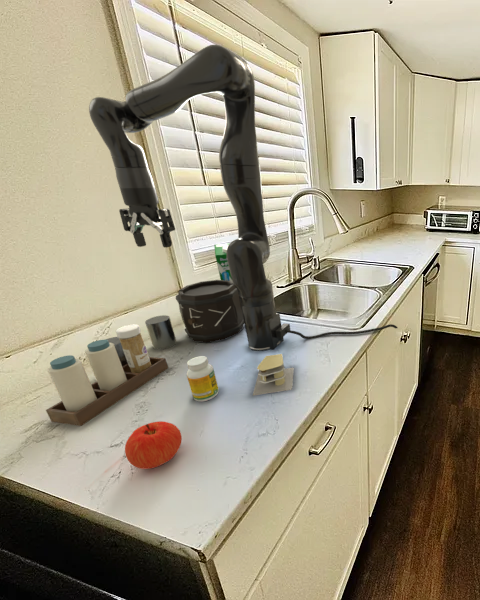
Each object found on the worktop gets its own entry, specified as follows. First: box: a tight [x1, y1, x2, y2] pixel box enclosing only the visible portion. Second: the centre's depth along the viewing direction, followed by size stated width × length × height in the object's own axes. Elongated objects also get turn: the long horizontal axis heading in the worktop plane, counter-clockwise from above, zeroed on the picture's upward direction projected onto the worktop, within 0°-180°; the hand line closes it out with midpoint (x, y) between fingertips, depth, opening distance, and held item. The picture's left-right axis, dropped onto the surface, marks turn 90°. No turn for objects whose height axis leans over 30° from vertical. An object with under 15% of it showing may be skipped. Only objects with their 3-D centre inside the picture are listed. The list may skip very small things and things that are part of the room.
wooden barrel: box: [175, 279, 245, 344], centre depth 106 cm, size 18×18×16 cm
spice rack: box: [45, 356, 169, 427], centre depth 78 cm, size 8×22×4 cm, turn 170°
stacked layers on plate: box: [252, 353, 295, 397], centre depth 81 cm, size 10×9×6 cm
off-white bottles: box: [47, 339, 127, 412], centre depth 73 cm, size 5×12×13 cm, turn 170°
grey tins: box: [104, 314, 178, 366], centre depth 92 cm, size 6×20×9 cm, turn 170°
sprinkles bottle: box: [115, 323, 152, 373], centre depth 82 cm, size 5×5×14 cm
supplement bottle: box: [186, 355, 220, 403], centre depth 76 cm, size 5×5×10 cm
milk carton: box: [213, 242, 233, 283], centre depth 123 cm, size 9×9×25 cm
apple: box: [124, 420, 183, 470], centre depth 59 cm, size 8×8×8 cm
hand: (154, 246), depth 92 cm, fingers open, 8 cm apart
